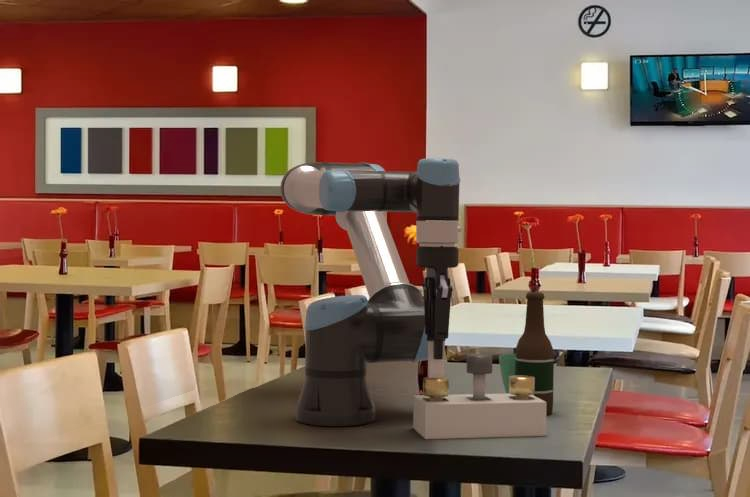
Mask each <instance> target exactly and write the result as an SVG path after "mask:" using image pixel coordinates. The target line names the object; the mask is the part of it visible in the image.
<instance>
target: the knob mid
mask: <svg viewBox="0 0 750 497" xmlns="http://www.w3.org/2000/svg"><path fill="white" fill-rule="evenodd" d="M466 373H468V374H472V375H473V377H472V394H473V400H475V401H484V400H485V394H486V375H489V374H492V373H493V355H491V354H486V353H483V354H482V353H471V354H467V355H466Z"/></svg>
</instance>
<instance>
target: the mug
mask: <svg viewBox="0 0 750 497" xmlns="http://www.w3.org/2000/svg"><path fill="white" fill-rule="evenodd" d="M498 362H499V368H500V373H501V374H500V375H501V378H502V382H503V386H504V390H505V394H509V376H513V375H515V353H510V354H509V353H508V354H501V355H499V356H498Z"/></svg>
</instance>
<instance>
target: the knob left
mask: <svg viewBox="0 0 750 497" xmlns="http://www.w3.org/2000/svg"><path fill="white" fill-rule="evenodd" d="M422 380H423V381H422V395H423V396H426V397H430V402H442V397H447V396H449V395H450V378H449V377H445V376H444V377H439V378H429V377H428V376H426V377H423V379H422Z"/></svg>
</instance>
